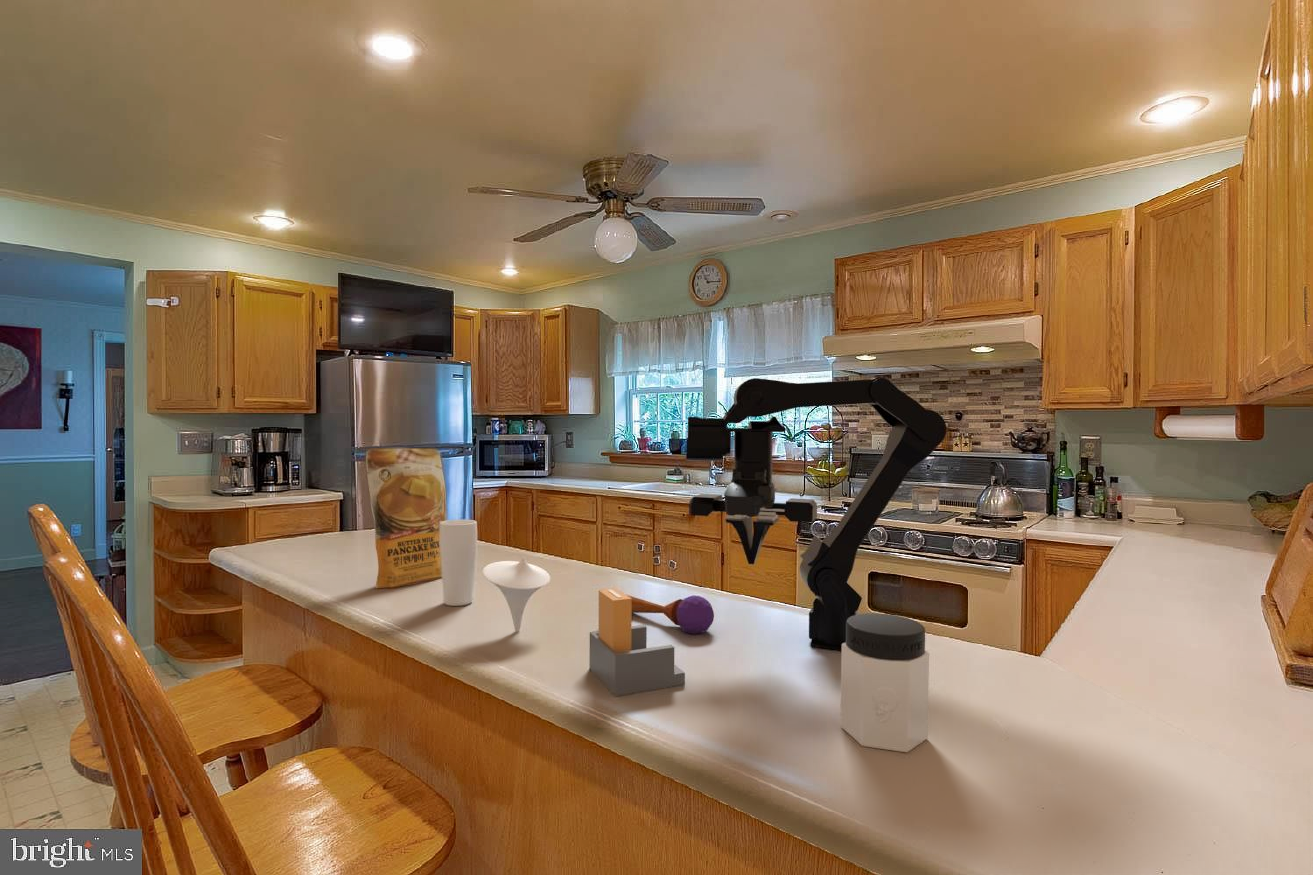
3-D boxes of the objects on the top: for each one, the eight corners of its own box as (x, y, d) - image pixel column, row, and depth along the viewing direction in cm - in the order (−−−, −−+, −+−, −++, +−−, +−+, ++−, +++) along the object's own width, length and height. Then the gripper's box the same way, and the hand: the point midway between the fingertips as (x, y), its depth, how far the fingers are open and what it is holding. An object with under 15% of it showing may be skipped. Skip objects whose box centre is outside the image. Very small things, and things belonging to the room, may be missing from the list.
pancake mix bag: (357, 587, 133) (356, 448, 132) (440, 570, 148) (440, 445, 147) (374, 592, 129) (373, 449, 128) (458, 575, 144) (458, 446, 143)
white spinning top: (564, 628, 107) (564, 555, 107) (513, 647, 98) (513, 566, 98) (520, 617, 113) (520, 547, 113) (468, 633, 104) (468, 557, 104)
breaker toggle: (616, 658, 89) (616, 587, 89) (631, 672, 84) (631, 597, 84) (598, 660, 88) (598, 589, 88) (612, 675, 83) (613, 599, 83)
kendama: (634, 585, 120) (722, 597, 107) (631, 619, 119) (720, 635, 106) (610, 585, 116) (698, 597, 102) (607, 620, 115) (696, 637, 101)
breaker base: (653, 658, 94) (653, 623, 94) (684, 684, 85) (685, 645, 85) (589, 668, 90) (589, 631, 90) (615, 696, 81) (615, 655, 81)
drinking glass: (485, 601, 123) (485, 521, 123) (456, 610, 117) (456, 525, 117) (460, 596, 127) (460, 518, 126) (431, 604, 121) (430, 522, 120)
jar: (839, 744, 69) (840, 630, 69) (841, 712, 77) (843, 609, 77) (931, 758, 67) (933, 639, 66) (924, 723, 74) (926, 617, 74)
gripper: (677, 462, 96) (676, 569, 97) (807, 467, 90) (806, 581, 90) (700, 459, 107) (699, 555, 107) (818, 462, 100) (816, 565, 101)
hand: (751, 563), depth 101 cm, fingers closed
